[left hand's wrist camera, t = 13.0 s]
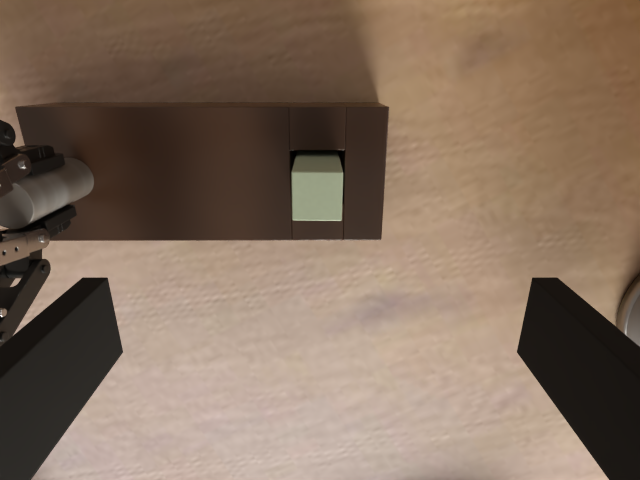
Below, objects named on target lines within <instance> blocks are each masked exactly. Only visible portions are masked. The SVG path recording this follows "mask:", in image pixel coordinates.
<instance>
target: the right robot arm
mask: <svg viewBox="0 0 640 480" xmlns="http://www.w3.org/2000/svg"><path fill="white" fill-rule="evenodd" d="M15 138H16V136H15V131H14V129H13V127H12V126H11V125H10V124H8V123H6V122H4V121H2V120H0V198H2V197H3V196H5V195H6V194H8V193H9V192H11V191H12V190H13V189H14V187H13V185H12V184H14V183H15V182H17V181H18V180H20V179H22V178H23V177H25V176H26V175H36V174H39V173H42V172H45V171H48V170H50V169H53V168H56V167H59V166H62V165H65V160H64V156H63V153H54V149H53V147H52V146H49V145H24V146H20V147H16V148H15V147H14V145H13V143H14V142H15ZM75 216H77V213H76V209H75V205H66V206H65V207H63V208H61V209H59V210H57V211H55V212H53V213H51V214H49V215H47V216H45V217H43V218H41V219H39V220H37V221H35V222H33V223H31V224H29V225H27V226H25V227H23V228H19V229H11V228H9V229H0V346H2V345H3V344H4V343H5V342H6V341H8V340H9V339H10V338H11V337H12V336H13V334H14V333H15V331H16V329H17V328H18V326H19V324H20V322H21V321H22V319H23V317H24V316H25V314H26V312H27V311H28V309H29V307H30V306H31V304H32V302H33V301H34V299H35V297H36V296H37V294H38V292H39V291H40V289H41V287H42V286H43V284H44V282H45V281H46V279H47V277H48V276H49V273H50V263H49V261H48V260H46V259H42V249H43V248H46V247H47V246H48V244H49V241H50V239H51V238H52V237H54V236H56V235H57V234H59V233H61V232H62V231H64V230H66V229H67V228H68V227H69V226H70V224H71V221H70V219H72V218H73V217H75ZM15 278H22V279H21V280H20V282H19V283H18V284H17V285H16V286H14V287H10V286H11V284H12V283H13V281H14V280H15Z"/></svg>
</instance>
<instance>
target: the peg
mask: <svg viewBox="0 0 640 480" xmlns="http://www.w3.org/2000/svg"><path fill="white" fill-rule="evenodd" d="M291 182H292V220H305V221H341V220H342V197H343V170H342V166H341V163H340V159H339V155H338V151H337V150H298V151H297V155H296V158H295V162H294V165H293V169H292V172H291Z"/></svg>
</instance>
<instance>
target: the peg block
mask: <svg viewBox="0 0 640 480" xmlns="http://www.w3.org/2000/svg"><path fill="white" fill-rule="evenodd" d="M15 108H16V112H17V116H18V120H19V124H20V128H21V132H22V136H23V139H24V143H25V145H49V146H52V147H53V149H54V153H63V156H64V160H65V165H62V166H59V167H56V168H53V169H50V170H48V171H45V172H42V173H39V174H36V175H26V176H25V177H23V178H22V179H20V180H18V181H17V182H15V183H14V184H12V185H13V187H14V189H13V190H12V191H11V192H9V193H8V194H6V195H5V196H3V197H2V198H0V225H1V226H3V227H6V228H11V229H19V228H23V227H25V226H27V225H29V224H31V223H33V222H35V221H37V220H39V219H41V218H43V217H45V216H47V215H49V214H51V213H53V212H55V211H57V210H59V209H61V208H63V207H65V206H66V205H75V209H76V213H77V216H75V217H73V218H72V219H70V221H71V224H70V226H69V227H68V228H67V229H66V230H64V231H62V232H61V233H59V234H57V235H56V236H54V237H52V238H51V239H50V241H63V240H381V235H382V218H383V201H384V184H385V167H386V150H387V132H388V115H389V107H387V106H385V105H383V104H380V103H50V104H39V105H28V106H18V107H15ZM294 150H341V166H342V170H343V197H342V220H341V221H305V220H292V182H291V172H292V169H293V165H294Z"/></svg>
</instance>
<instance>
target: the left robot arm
mask: <svg viewBox="0 0 640 480" xmlns="http://www.w3.org/2000/svg"><path fill="white" fill-rule="evenodd" d="M122 353H123V350H122V345H121V340H120V335H119V331H118V326H117V321H116V316H115V311H114V306H113V302H112V297H111V292H110V287H109V282H108V278H82V279H81V280H79V281H78V282H77V283H76V284H75V285H73V286H72V287H71V288H70V289H69V290H67V291H66V292H65V293H64V294H63V295H61V296H60V297H59V298H58V299H57V300H55V301H54V302H53V303H52V304H51V305H50V306H48V307H47V308H46V309H45V310H44V311H42V312H41V313H40V314H39V315H38V316H36V317H35V318H34V319H33V320H32V321H30V322H29V323H28V324H27V325H26V326H24V327H23V328H22V329H21V330H20V331H18V332H17V333H16V334H15V335H14V336H12V337H11V338H10V339H9V340H8V341H6V342H5V343H4V344H3V345H2V346H0V480H31V479H32V477H33V476H34V475H35V473H36V472H37V470H38V469H39V468H40V466H41V465H42V463H43V462H44V461H45V459H46V458H47V457H48V455H49V454H50V452H51V451H52V450H53V448H54V447H55V445H56V444H57V443H58V441H59V440H60V439H61V437H62V436H63V434H64V433H65V432H66V430H67V429H68V428H69V426H70V425H71V423H72V422H73V421H74V419H75V418H76V416H77V415H78V414H79V412H80V411H81V410H82V408H83V407H84V405H85V404H86V403H87V401H88V400H89V398H90V397H91V396H92V394H93V393H94V392H95V390H96V389H97V387H98V386H99V385H100V383H101V382H102V380H103V379H104V378H105V376H106V375H107V374H108V372H109V371H110V369H111V368H112V367H113V365H114V364H115V362H116V361H117V360H118V358H119V357H120V356H121V354H122ZM517 353H518V354H519V356H520V357H521V358H522V360H523V361H524V362H525V364H526V365H527V367H528V368H529V369H530V371H531V372H532V374H533V375H534V376H535V378H536V379H537V380H538V382H539V383H540V385H541V386H542V387H543V389H544V390H545V392H546V393H547V394H548V396H549V397H550V398H551V400H552V401H553V403H554V404H555V405H556V407H557V408H558V410H559V411H560V412H561V414H562V415H563V416H564V418H565V419H566V421H567V422H568V423H569V425H570V426H571V428H572V429H573V430H574V432H575V433H576V434H577V436H578V437H579V439H580V440H581V441H582V443H583V444H584V445H585V447H586V448H587V450H588V451H589V452H590V454H591V455H592V457H593V458H594V459H595V461H596V462H597V463H598V465H599V466H600V468H601V469H602V470H603V472H604V473H605V475H606V476H607V477H608V479H609V480H640V274H639V275H638V277H637V278H636V279H635V280H634V281H633V283H632V284H631V286H630V287H629V289H628V290H627V292H626V294H625V296H624V298H623V300H622V302H621V305H620V308H619V311H618V316H617V327H616V326H614V325H613V324H612V323H611V322H610V321H608V320H607V319H606V318H605V317H604V316H602V315H601V314H600V313H599V312H598V311H596V310H595V309H594V308H593V307H592V306H590V305H589V304H588V303H587V302H586V301H585V300H583V299H582V298H581V297H580V296H579V295H577V294H576V293H575V292H574V291H573V290H571V289H570V288H569V287H568V286H567V285H565V284H564V283H563V282H562V281H561V280H559V279H558V278H532V282H531V287H530V292H529V297H528V302H527V306H526V311H525V316H524V321H523V326H522V331H521V335H520V340H519V345H518V350H517Z"/></svg>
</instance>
